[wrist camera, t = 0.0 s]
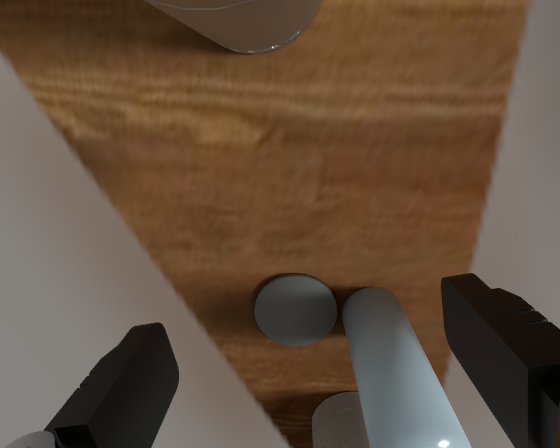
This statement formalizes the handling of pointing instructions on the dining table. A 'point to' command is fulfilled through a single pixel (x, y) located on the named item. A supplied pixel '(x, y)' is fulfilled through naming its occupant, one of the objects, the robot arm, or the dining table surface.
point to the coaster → (295, 310)
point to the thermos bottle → (340, 423)
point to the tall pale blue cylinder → (396, 377)
